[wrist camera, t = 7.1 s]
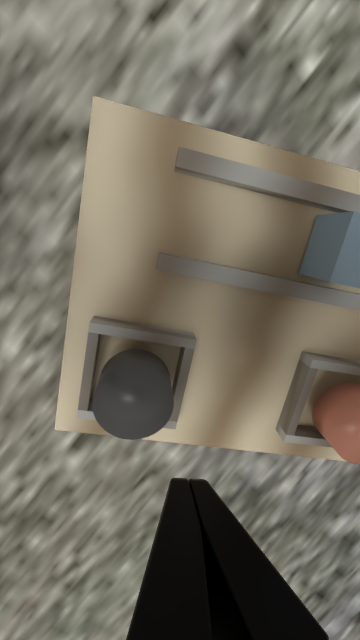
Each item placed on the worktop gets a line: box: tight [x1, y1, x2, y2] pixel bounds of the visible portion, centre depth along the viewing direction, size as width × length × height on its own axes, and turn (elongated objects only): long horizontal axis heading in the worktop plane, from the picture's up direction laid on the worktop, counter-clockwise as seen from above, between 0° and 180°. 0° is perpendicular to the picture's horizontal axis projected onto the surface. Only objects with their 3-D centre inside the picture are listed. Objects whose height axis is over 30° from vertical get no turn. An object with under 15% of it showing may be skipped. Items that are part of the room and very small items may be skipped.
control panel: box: [55, 96, 360, 461], centre depth 17 cm, size 20×17×3 cm
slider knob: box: [299, 211, 360, 288], centre depth 14 cm, size 2×3×3 cm
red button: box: [312, 382, 360, 464], centre depth 16 cm, size 4×4×2 cm
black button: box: [92, 349, 174, 440], centre depth 14 cm, size 4×4×2 cm
